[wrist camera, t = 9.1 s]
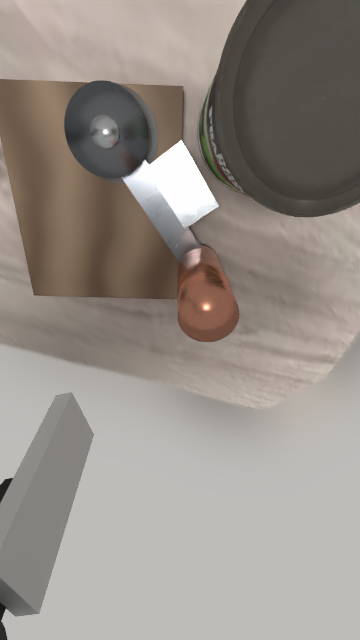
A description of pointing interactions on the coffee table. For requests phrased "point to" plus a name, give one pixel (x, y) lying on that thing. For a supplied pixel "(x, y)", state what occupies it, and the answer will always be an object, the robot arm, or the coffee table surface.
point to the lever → (155, 197)
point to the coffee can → (288, 107)
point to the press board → (84, 197)
